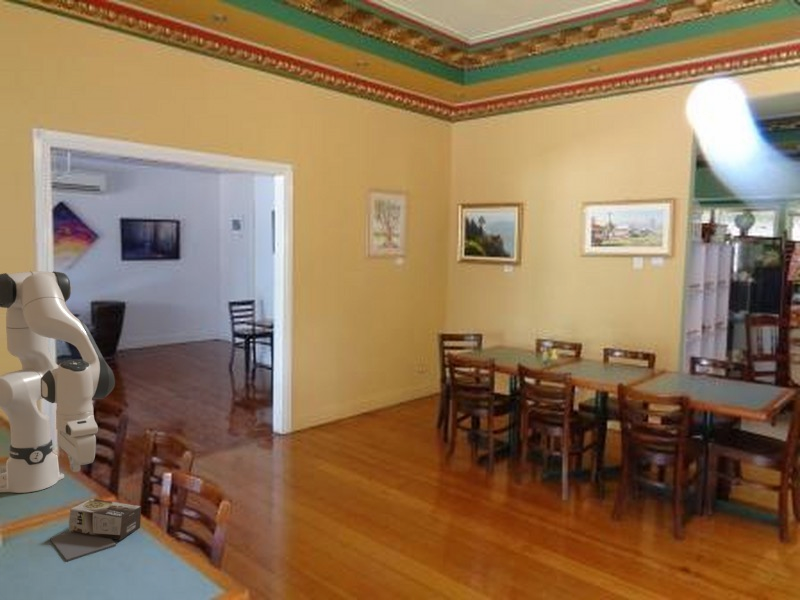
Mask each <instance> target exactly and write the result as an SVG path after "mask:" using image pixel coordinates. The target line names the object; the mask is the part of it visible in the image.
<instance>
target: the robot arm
mask: <svg viewBox="0 0 800 600" xmlns="http://www.w3.org/2000/svg"><path fill="white" fill-rule="evenodd" d="M71 284H72V283H71V281H70V279H69V276H68V275H67V274H66V273H65V272H60V271H55V270H54V271H52V272H51V271H35V270H34V271H33V270H30V271H24V272H22V271H21V272H13V273H7V272H4V273H0V308H4V309H6V317H5V328H6V347H7V351H8V352H9V354H10V355H12V356H14V357H16V358H18V359H19V361H20V364H21V368H22V369H19V370H14V371H10V372H7V373H4V374H2V375H0V409H1V410H2V411H3V412H4V414H5V415H6V418H7V419H8V422H9V428H10V441H11V443H10V446H9V451H8V452H9V457H8V459H7V460H6V462H5V464H6V465H0V493H15V494H16V493H18V494H20V493H22V494H23V493H24V494H25V493H31V492H37V491H41V490H44V489H47V488H50V487H52V486H54V485H55V484H57V483H58V482H59V481H61V480H62V479H64V478H65V474H64V473H62V472H60V468H59V467H60V466H59V457H58V455H57V454H56V453H54V452H53V450H54V449H53V447H54V444H53V440H52V438H51V419H50V416H49V415H47V414H46V413H45V412H42V411H40V410H39V408H38V403H37V401H39V400H42V399H44V400H45V401H46V402H49V403H51V404H57V407H56V410H55V421H56V422H55V423H56V424H55V427H56V428H55V429H56V430H57V444H58V447H60V448H61V449H62V450H63V451H64V452H65V453H66V454H67V457H68V461H69V469H70V470H71V471H72V472H73V473H78V472H81V466H83V465H84V466H85V465H89V464H93V462H94V461H95V457H96V445H97V444H96V443H97V438H96V434H97V433H98V431H99V429H98V428H99V427H98V424H97V422H96V420H95V415H94V405H93V402H92V400H99V399H102V400H103V399H105V398H106V397H108V395H109V394H111V392H112V391H113V390H114V388H115V386H116V379H115V374H114V372H113V370H112V368H111V367H110V366H109V364H108V363H107V361H106V360H105V358H104V357H103V355H102V353H101V350H100V349H99V347H98V345H97V344H96V341H95V339H94V337H93V335H92V334H91V332H90V330H89V328H88V326H87V325H86V323H85V322H84V321H83V320H82V319H80V318H78V317H77V316H75V315H74V314H73V313H72V312H71V311H70V309H69V308H68V307H67V304H66V302H68V300H69V299H70V297H71V293H72V285H71ZM48 338H49V339H54V340H58V341H61V342H62V341H63V342H66V343H69V344H71V345H73V346H74V347H75V348H76V349H77V350H78V352H79V354H80V357H81V358H82V360H81V359H69V360H64V361H62V362H60V363H58V364H57V363H56V362H55V360H54V358H53V357H52V354H51V353H50V349H49V344H48Z"/></svg>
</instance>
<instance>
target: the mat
mask: <svg viewBox="0 0 800 600" xmlns="http://www.w3.org/2000/svg"><path fill="white" fill-rule="evenodd" d="M49 540H50V542H51V543H52V544H53V546H54V547H55V548H56V549H57V550H58V552H59V553H60V554H61V556H62V557H63V559H64V560H65V561H66V562H70V561H72V560H76V559H79V558H83V557H85V556H89V555H91V554H95V553H98V552H101V551H105V550H106V549H110V548H113V547H114V548H115V547H116V546H117V543H116V542H115V541H114V540H113V538H107V537H102V536H97V535H91V534H85V533H80V532H75V531H69V532H65V533H62V534H58V535H55V536H52V537H49Z"/></svg>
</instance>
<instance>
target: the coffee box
mask: <svg viewBox="0 0 800 600" xmlns="http://www.w3.org/2000/svg"><path fill="white" fill-rule="evenodd" d="M141 513H142V506H141V505H135V504H129V503H121V502H115V501H109V500H104V499H103V500H102V499H98V498H97V499H96V498H91V499H88V500H86V501H84V502H82V503H80V504H78V505H76V506H74V507H72V508H70V509H69V518H68V520H69V521H68V531H69V532H72V531H75V532H80V533H85V534H91V535H97V536H102V537H107V538H111V539H112V540H113V539H114V540H119V541H121V540H123V539H125V538H126V537H128V536H129V535H131V534H133V533H134V532H135V531H137V530H138V529H140V528H141V517H142V516H141V515H142V514H141Z"/></svg>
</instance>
